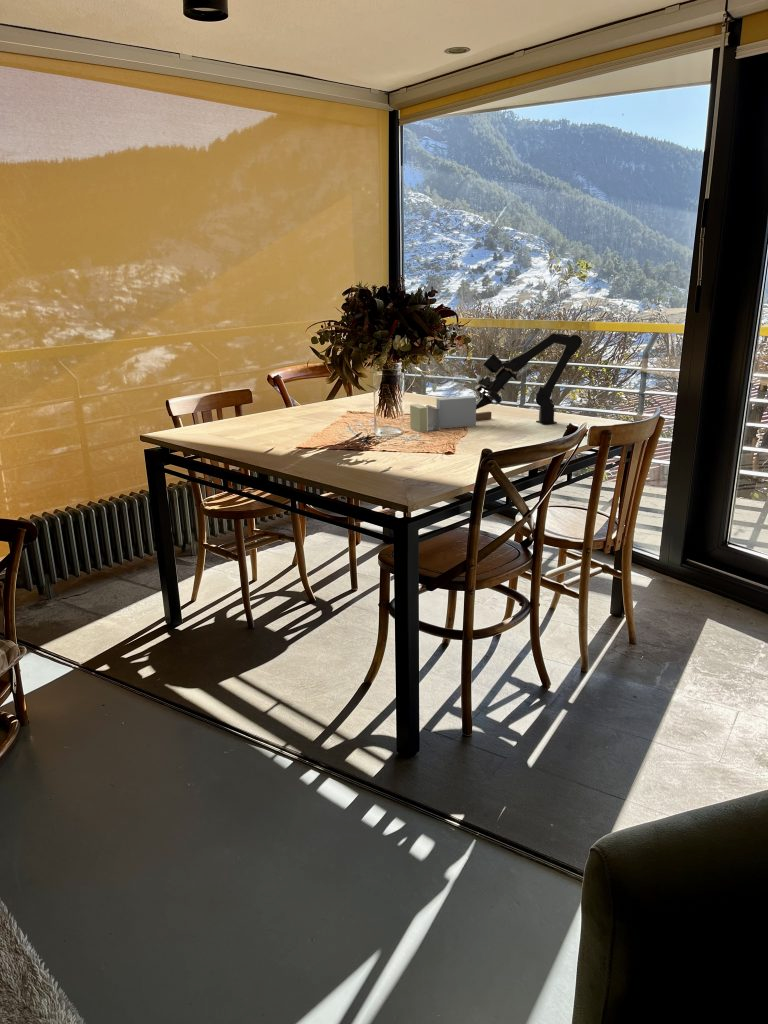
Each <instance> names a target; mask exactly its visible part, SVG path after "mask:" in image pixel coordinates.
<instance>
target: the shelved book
mask: <svg viewBox="0 0 768 1024" xmlns="http://www.w3.org/2000/svg"><path fill="white" fill-rule="evenodd" d="M409 413H410V414H409V418H410V419H409V420H410V424H409V425H410V430H413V431H415V432H418V433H428V432H429V431H428V407H426V405H424V404H420V403H416V404H410V405H409Z"/></svg>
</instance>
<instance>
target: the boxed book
mask: <svg viewBox="0 0 768 1024" xmlns="http://www.w3.org/2000/svg"><path fill="white" fill-rule="evenodd" d="M476 402H477V397H476V396H474V395H465V396H463V395H462V396H451V397H450V396H449V397H436V408H438V409H439V429H447V428H460V427H461V428H462V427H473V426H475V427H476V426H477V421H476V413H477V410H476Z"/></svg>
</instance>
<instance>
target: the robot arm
mask: <svg viewBox="0 0 768 1024" xmlns="http://www.w3.org/2000/svg"><path fill="white" fill-rule="evenodd" d="M554 344H557V345H562V346H563V350H562V353H561V355H560V357H559V358H558V360H557V362H556V364H555V365H554V368H553V369H552V371H551V373H550V375H549V376H548V378H547V380H546V382H545V383H544V384H543V385H542V384H539V386H538V388H537V390H536V391H535V403H536V404H537V405H538V406H539V411H538V413H539V414H538V420H536V421H535V422H536V423H539V424H541V425H553V424H557V422H558V421H555V409H554V408H555V402H554V401H553V399H552V398H551V397H552V395H553V392H554V389H555V386H556V385H557V382H558V380H559V379H560V377H561V375H562V374H563V372H564V370H565V368H566V367H567V365H568V364H569V361H570V359H571V358H572V357H573V355H575V353H577V351H578V350H579V349H580V347H581V346H582V344H583V339H582V338H581V336H580V335H579V334H578V333H571V334H567V333H566V334H565V333H556V332H551V333H549V335H548V336H546V337H544V338H543V339H541V340H540V341H538V342H537V343H536V344H535V345H533V346H532V347H530V348H529V349H527V350H526V351H524V352H521V353H519V354H516V355H514V356H512V357H511V358H510V359H507V360H501V359H500V358H499V357H498V356H497V355H496V353H494V352H493V353H492V354H491V355H490V356H489V357H487V358H486V360H485V361H483V363H482V364H481V365H482V367H484V368H485V369H486V370H487V371H488V372H489V373H490V374H496V375H495V376H494V377H490V376H488V375H485V376H481V375H479V374H477V377H476V378H475V382H474V383H477V385H476V386H475V387H474V389H475V390H476V392H478V399H476V411H477V410H478V409H480V408H483V407H486V406H488V405H490V404H493V403H494V402H493V401H495V403H496V404H498V405H500V404H501V403H502V402H503V397H502V396H501V395H500V394H499V393H500V392H501V391H503V390H505V386H506V385H507V383H509V382H510V381H511V379H512V380H513V381H517V379H518V378H517V372H520V371H521V370H522V369H523V368H524V367H525V366H526V365H527V364H528V363H529V362H530V361H531V360H532V359H533V358H535V357H536V356H537V355H539V354H541V353H542V352H543V351H545V350H547V349H548V348H549V347H551V346H552V345H554ZM514 372H515V373H514Z"/></svg>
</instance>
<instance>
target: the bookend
mask: <svg viewBox="0 0 768 1024" xmlns="http://www.w3.org/2000/svg"><path fill="white" fill-rule="evenodd" d="M425 406H426V407H428V432H434V431H435V432H436V431H439V430H440V428H439V409H438V408H437V406H432V405H429V404H428V405H425Z"/></svg>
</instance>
